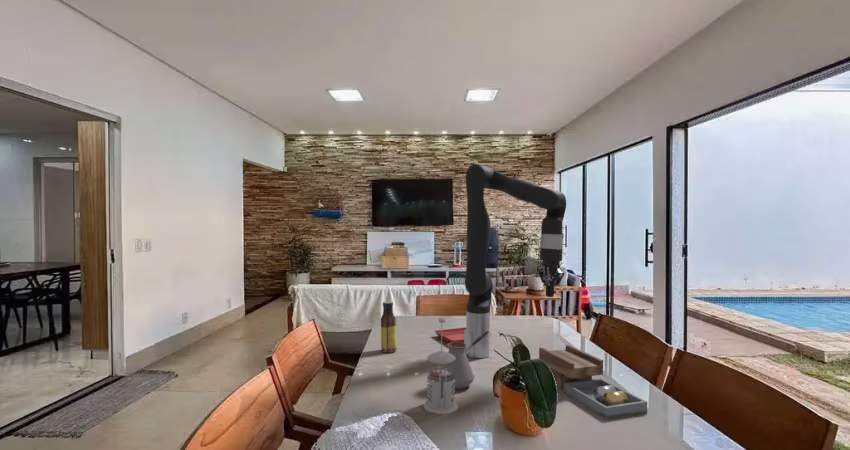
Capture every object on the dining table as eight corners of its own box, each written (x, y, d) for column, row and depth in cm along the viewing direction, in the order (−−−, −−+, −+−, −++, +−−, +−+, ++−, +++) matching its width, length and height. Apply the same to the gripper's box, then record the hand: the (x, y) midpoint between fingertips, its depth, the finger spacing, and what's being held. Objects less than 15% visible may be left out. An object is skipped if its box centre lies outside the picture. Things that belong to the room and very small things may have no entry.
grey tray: (606, 419, 109) (606, 408, 109) (563, 392, 126) (563, 383, 126) (647, 412, 113) (647, 401, 113) (600, 387, 131) (600, 378, 131)
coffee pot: (455, 395, 124) (456, 345, 124) (431, 383, 132) (431, 337, 132) (501, 378, 137) (502, 334, 137) (476, 369, 146) (477, 327, 146)
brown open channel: (570, 394, 125) (571, 363, 125) (538, 375, 141) (539, 347, 141) (602, 390, 128) (603, 360, 128) (568, 371, 144) (568, 345, 144)
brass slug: (606, 389, 115) (601, 398, 117) (615, 402, 112) (609, 411, 114) (621, 387, 117) (615, 396, 119) (630, 400, 113) (624, 408, 115)
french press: (456, 398, 121) (457, 314, 121) (460, 417, 109) (462, 323, 109) (422, 398, 121) (424, 314, 121) (424, 417, 109) (425, 323, 109)
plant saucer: (433, 337, 188) (433, 330, 188) (467, 333, 196) (467, 326, 196) (452, 348, 172) (452, 340, 172) (488, 343, 179) (488, 336, 179)
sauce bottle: (397, 349, 168) (398, 300, 168) (395, 353, 162) (395, 303, 162) (382, 348, 169) (382, 300, 169) (378, 353, 163) (379, 303, 163)
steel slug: (599, 385, 118) (591, 389, 121) (605, 399, 116) (597, 403, 119) (612, 383, 120) (604, 387, 123) (619, 397, 117) (611, 401, 120)
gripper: (531, 245, 148) (529, 293, 148) (553, 248, 135) (551, 300, 135) (549, 246, 150) (547, 293, 150) (572, 248, 138) (570, 300, 138)
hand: (549, 296), depth 143 cm, fingers closed
